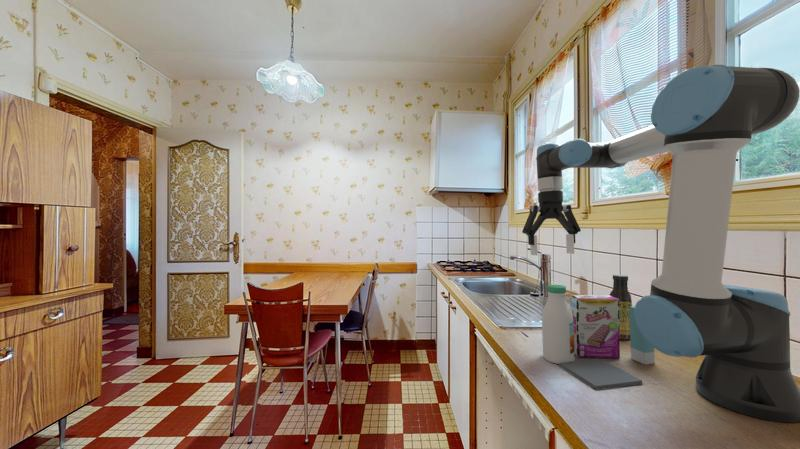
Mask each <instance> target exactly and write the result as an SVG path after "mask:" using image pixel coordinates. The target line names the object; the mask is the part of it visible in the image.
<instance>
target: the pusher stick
mask: <svg viewBox="0 0 800 449" xmlns="http://www.w3.org/2000/svg"><path fill="white" fill-rule="evenodd" d="M629 309H630V339H629V340H630V359H631V360H634V361H636V362H639V363H640V364H643V365H644V366H645V365H653V364H655V362H656V361H655V360H656V358H655V348H654V347H653V346H651V345H650V344H649V343H648V342H647V341H646V339H645V338H644V336H643V334H642V333H641V332H640V331H639V329H638V327H637V325H636V322H635V317H634V309H635V305H632V306H630V307H629Z"/></svg>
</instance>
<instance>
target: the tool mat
mask: <svg viewBox="0 0 800 449" xmlns="http://www.w3.org/2000/svg"><path fill="white" fill-rule="evenodd" d="M559 367H560V368H562V370H565V371H567V372H568V373H569V374H571V375H572V376H573V377H575V378H577V379H579V380H581V381H582V382H583V383H584V384H587V386H589V385H590V387H591V388H593V389H594V388H595V389H594V390H596V389H599V390H604V389H603V388H606V389H613V387H614V388H621V387H627V386H629V387H630V386H634V385H635V386H636V385H637V386H638V385H642V384H643V380H642V379H640V378H639V377H637V376H635V375H633V374H631V373H628V372H627V371H625V370H624V369H621V368H619V367H617V366H616V365H613V364H611V363H609V362H607V360H606V361H605V360H603V358H594V359H593V358H592V359H585V360H577V361H575V360H574V362H566V363H560V364H559Z"/></svg>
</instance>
